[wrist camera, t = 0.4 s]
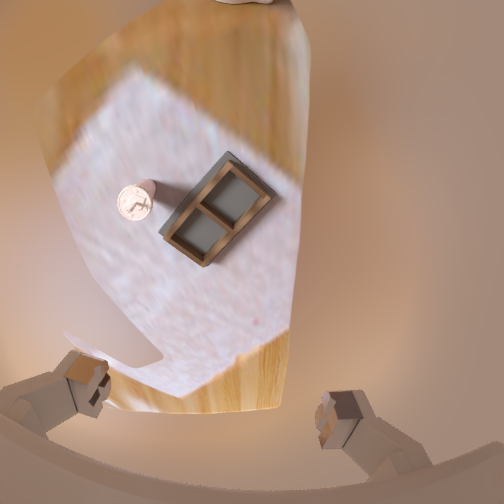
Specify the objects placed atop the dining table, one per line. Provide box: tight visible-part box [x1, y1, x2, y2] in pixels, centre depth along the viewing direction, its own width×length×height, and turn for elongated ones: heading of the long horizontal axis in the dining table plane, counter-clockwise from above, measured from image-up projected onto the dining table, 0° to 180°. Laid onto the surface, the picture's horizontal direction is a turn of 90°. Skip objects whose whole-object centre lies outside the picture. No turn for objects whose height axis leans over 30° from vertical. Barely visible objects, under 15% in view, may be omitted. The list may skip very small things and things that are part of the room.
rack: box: [163, 160, 271, 268], centre depth 56 cm, size 20×10×3 cm, turn 137°
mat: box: [158, 151, 276, 266], centre depth 58 cm, size 22×13×1 cm, turn 137°
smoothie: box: [117, 179, 156, 221], centre depth 48 cm, size 6×6×14 cm
